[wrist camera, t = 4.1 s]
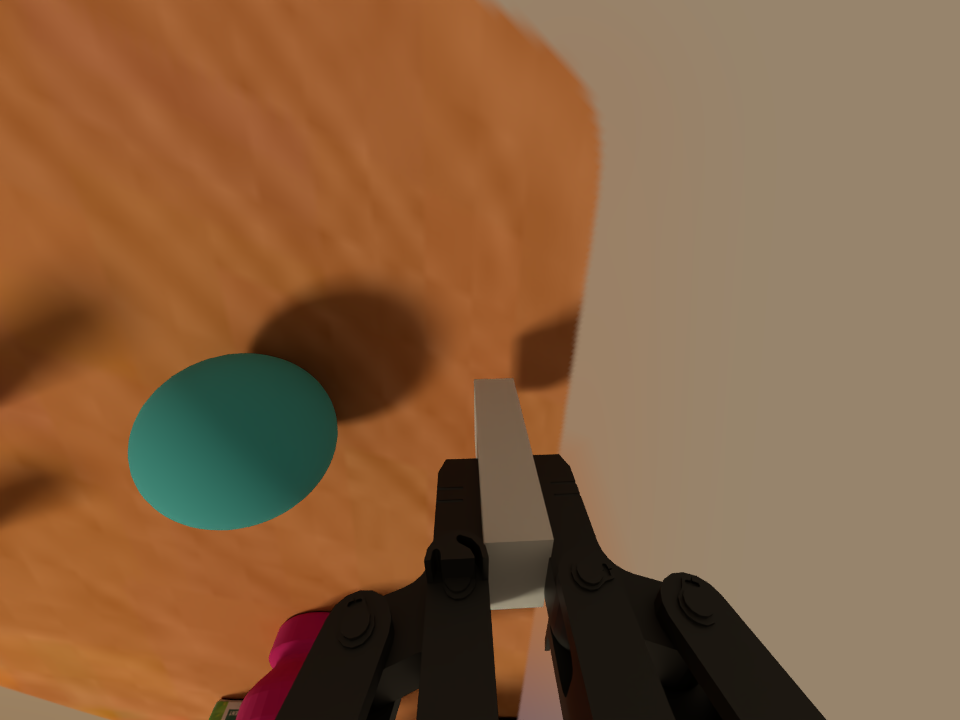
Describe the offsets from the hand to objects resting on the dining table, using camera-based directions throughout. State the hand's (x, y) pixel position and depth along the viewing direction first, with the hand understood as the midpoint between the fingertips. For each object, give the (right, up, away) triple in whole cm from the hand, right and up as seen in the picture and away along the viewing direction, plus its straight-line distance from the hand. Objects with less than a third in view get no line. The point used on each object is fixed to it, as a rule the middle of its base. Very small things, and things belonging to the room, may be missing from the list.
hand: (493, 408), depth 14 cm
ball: (-9, -1, -1) cm, 9 cm away
